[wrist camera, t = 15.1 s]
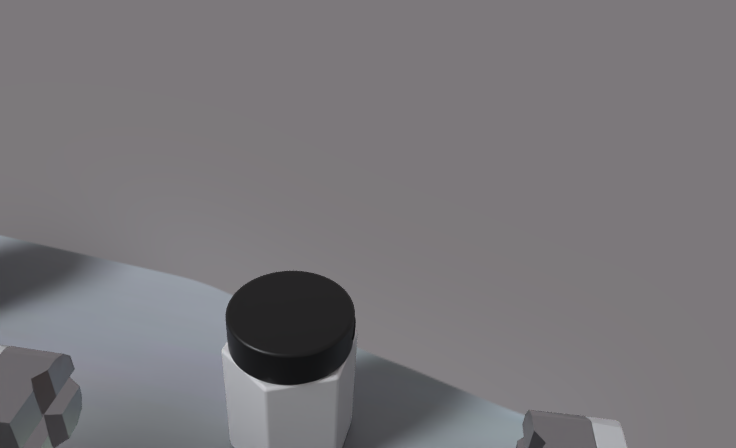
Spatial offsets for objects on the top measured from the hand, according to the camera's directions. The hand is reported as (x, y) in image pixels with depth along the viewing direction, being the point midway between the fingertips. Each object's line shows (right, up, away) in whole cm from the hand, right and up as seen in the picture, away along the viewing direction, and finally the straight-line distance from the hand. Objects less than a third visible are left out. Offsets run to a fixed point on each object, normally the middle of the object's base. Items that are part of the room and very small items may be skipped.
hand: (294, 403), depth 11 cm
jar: (-4, -12, +36) cm, 38 cm away
